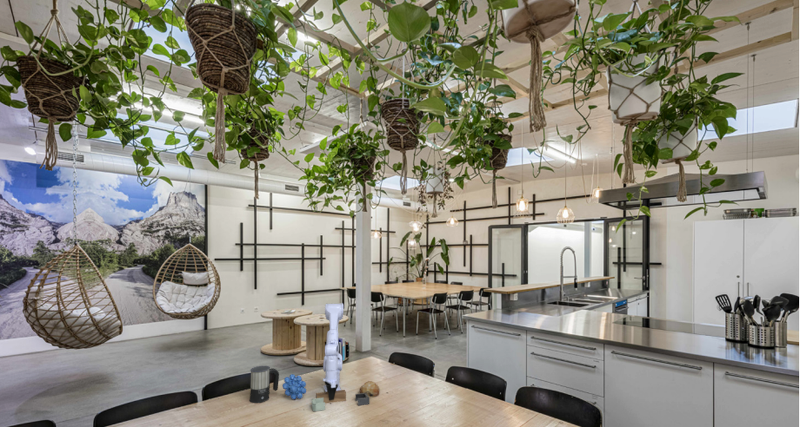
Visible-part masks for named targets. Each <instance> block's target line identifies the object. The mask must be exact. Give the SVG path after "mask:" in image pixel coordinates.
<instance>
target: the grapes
mask: <svg viewBox="0 0 800 427" xmlns="http://www.w3.org/2000/svg"><path fill="white" fill-rule="evenodd" d="M283 379H284V383H282V389H284V390H285V391H284V394H285V396H287V397H290V399H291V400H296V399H298V400H299V399H302V398H303V395H305V394H306V393H307V388H305V387H306V386H307V382H306V381H305V380H302V379H303V378H302V377H301V375H295V374H293V373H292V374H290V375H289V376H285V377H284V378H283Z"/></svg>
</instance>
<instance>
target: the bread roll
mask: <svg viewBox="0 0 800 427" xmlns="http://www.w3.org/2000/svg"><path fill="white" fill-rule="evenodd" d="M360 393H367V395H368V396H369V399H370V398H376V397H378V396H379V395H380V387H379V385H378V384H377V383H376V382H374V381H369V380H368V381H367V382H364V384H362V385H361V386H360V388H359V394H360Z"/></svg>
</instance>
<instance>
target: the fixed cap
mask: <svg viewBox="0 0 800 427" xmlns="http://www.w3.org/2000/svg"><path fill="white" fill-rule="evenodd" d="M354 397H355V399H354V400H355V402H357V406H358V407H359V406H366V405H368V406H369V405H370V398H369V396H368V395H367V393H360V392H359V393H355V396H354Z"/></svg>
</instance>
